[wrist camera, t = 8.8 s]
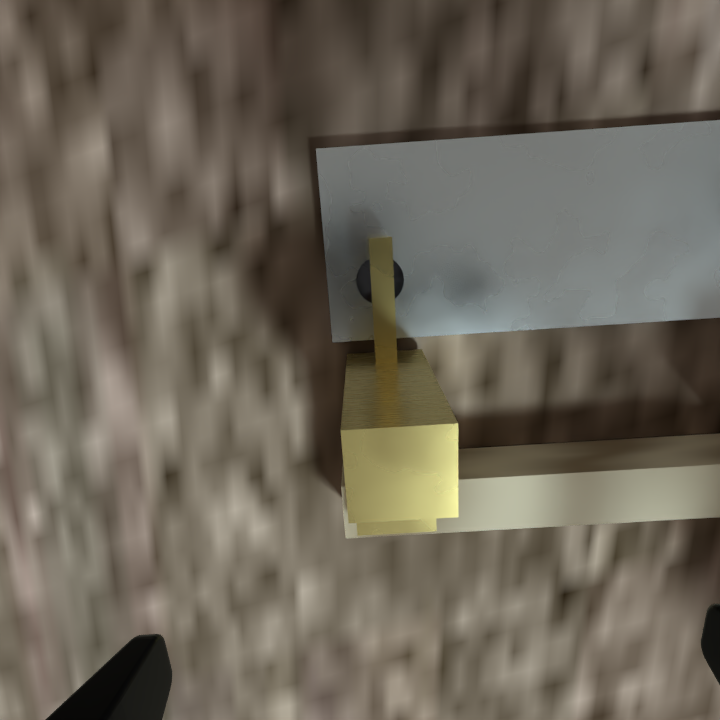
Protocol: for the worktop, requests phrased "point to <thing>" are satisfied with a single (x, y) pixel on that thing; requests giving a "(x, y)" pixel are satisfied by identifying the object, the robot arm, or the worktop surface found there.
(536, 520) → the trammel beam
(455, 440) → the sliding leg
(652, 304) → the bolt plate
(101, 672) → the robot arm
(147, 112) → the worktop surface
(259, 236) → the worktop surface
